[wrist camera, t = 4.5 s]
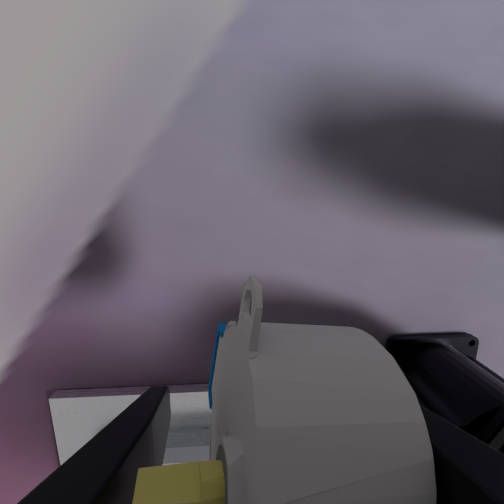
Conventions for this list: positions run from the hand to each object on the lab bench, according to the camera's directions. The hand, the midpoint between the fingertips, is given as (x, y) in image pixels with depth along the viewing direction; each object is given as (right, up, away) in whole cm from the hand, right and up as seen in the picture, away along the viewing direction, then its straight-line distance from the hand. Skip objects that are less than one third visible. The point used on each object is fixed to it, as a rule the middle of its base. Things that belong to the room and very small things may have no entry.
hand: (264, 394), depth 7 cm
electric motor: (-1, +1, +2) cm, 2 cm away
